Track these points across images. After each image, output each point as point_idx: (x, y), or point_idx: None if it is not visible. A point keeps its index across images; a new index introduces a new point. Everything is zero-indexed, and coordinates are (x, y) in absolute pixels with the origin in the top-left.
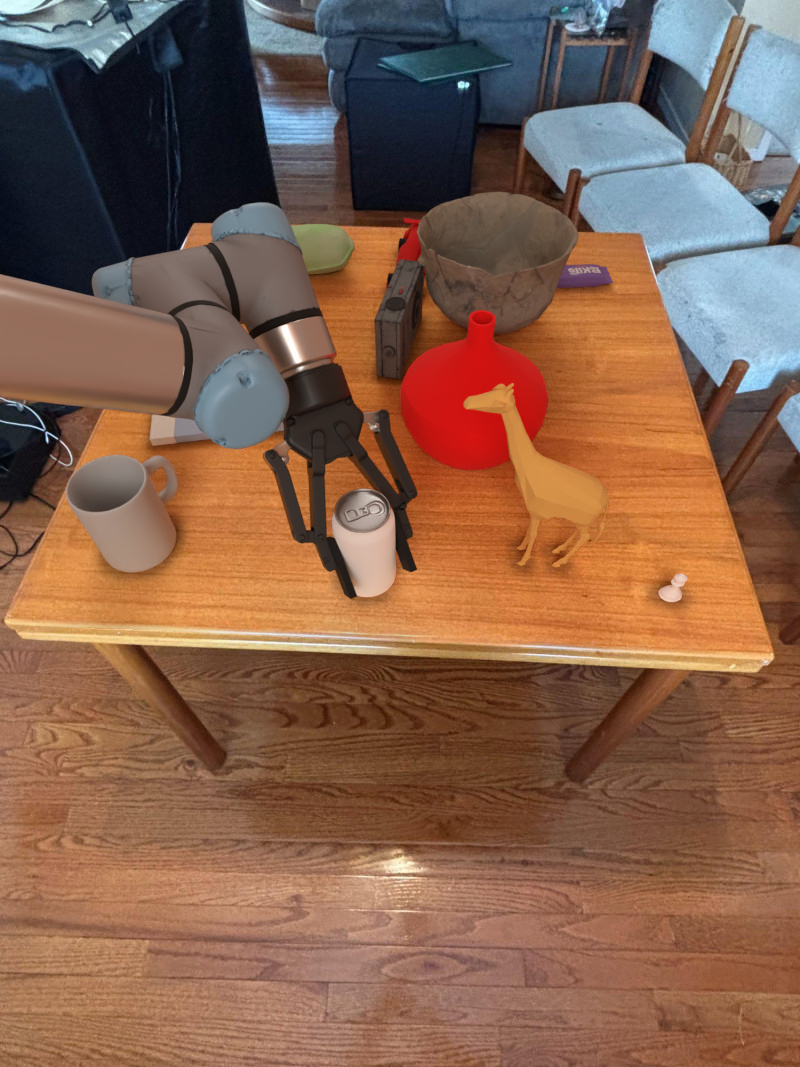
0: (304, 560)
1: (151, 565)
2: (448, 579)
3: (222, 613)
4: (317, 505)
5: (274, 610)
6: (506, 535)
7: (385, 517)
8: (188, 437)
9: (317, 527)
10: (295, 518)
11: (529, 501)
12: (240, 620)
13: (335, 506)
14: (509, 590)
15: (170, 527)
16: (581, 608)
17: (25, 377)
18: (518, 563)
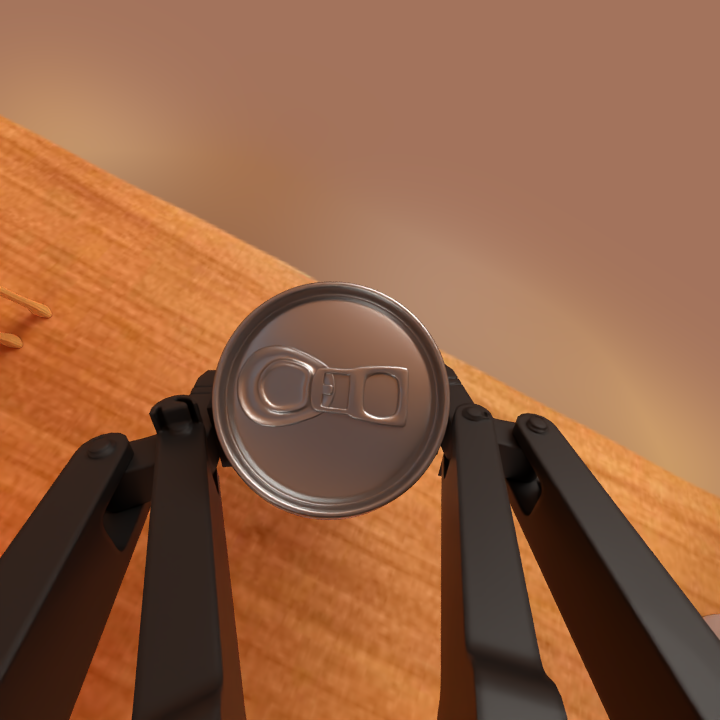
0: (429, 505)
1: (718, 619)
2: (195, 342)
3: (589, 452)
4: (493, 504)
5: (506, 419)
6: (17, 383)
7: (265, 328)
8: None
9: (488, 437)
10: (581, 481)
11: None
12: (562, 425)
13: (433, 456)
14: (108, 274)
15: None
16: (20, 192)
17: None
18: (48, 311)
